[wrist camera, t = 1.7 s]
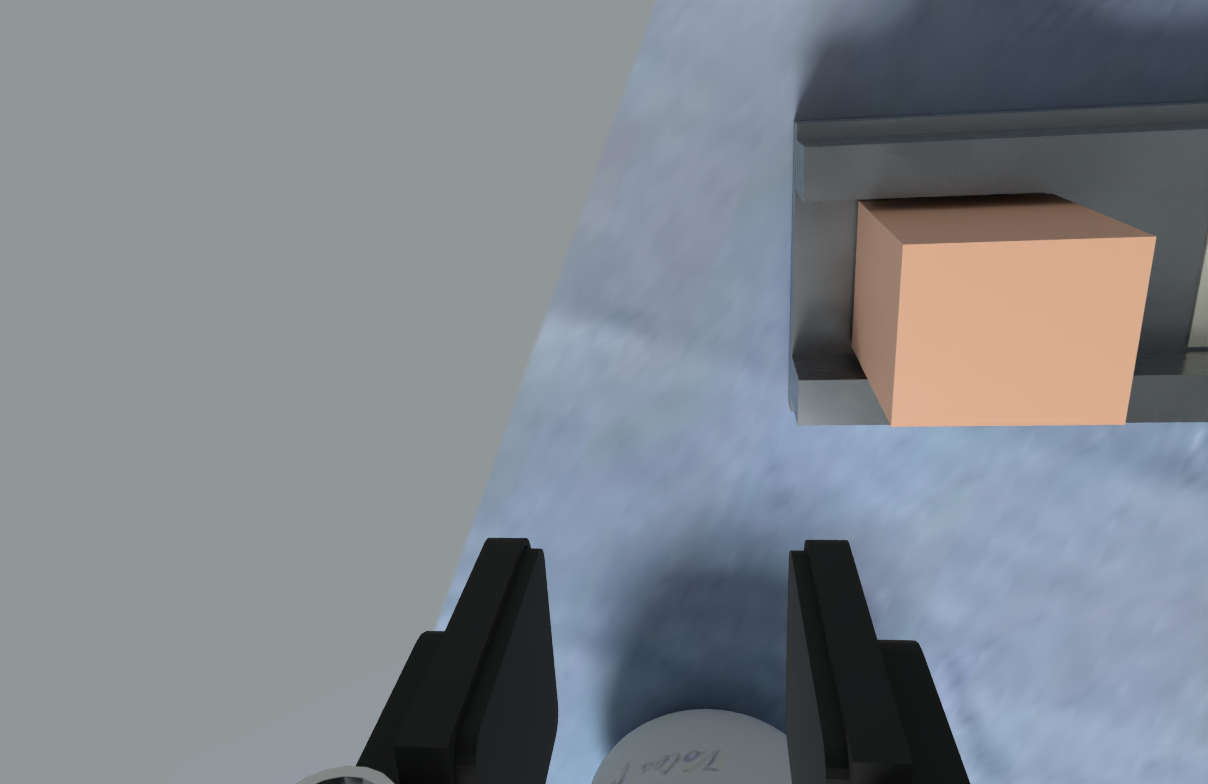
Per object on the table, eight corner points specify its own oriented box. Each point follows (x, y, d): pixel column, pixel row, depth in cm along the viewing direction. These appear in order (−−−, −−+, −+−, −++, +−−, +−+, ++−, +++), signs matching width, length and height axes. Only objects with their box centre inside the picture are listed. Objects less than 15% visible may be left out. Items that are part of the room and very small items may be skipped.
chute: (1534, 84, 27) (1688, 90, 23) (1441, 393, 30) (1558, 447, 26) (793, 120, 29) (808, 132, 25) (788, 400, 33) (800, 451, 29)
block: (1052, 193, 28) (1156, 236, 22) (1033, 343, 30) (1125, 424, 23) (858, 200, 29) (902, 244, 22) (851, 346, 31) (891, 426, 24)
